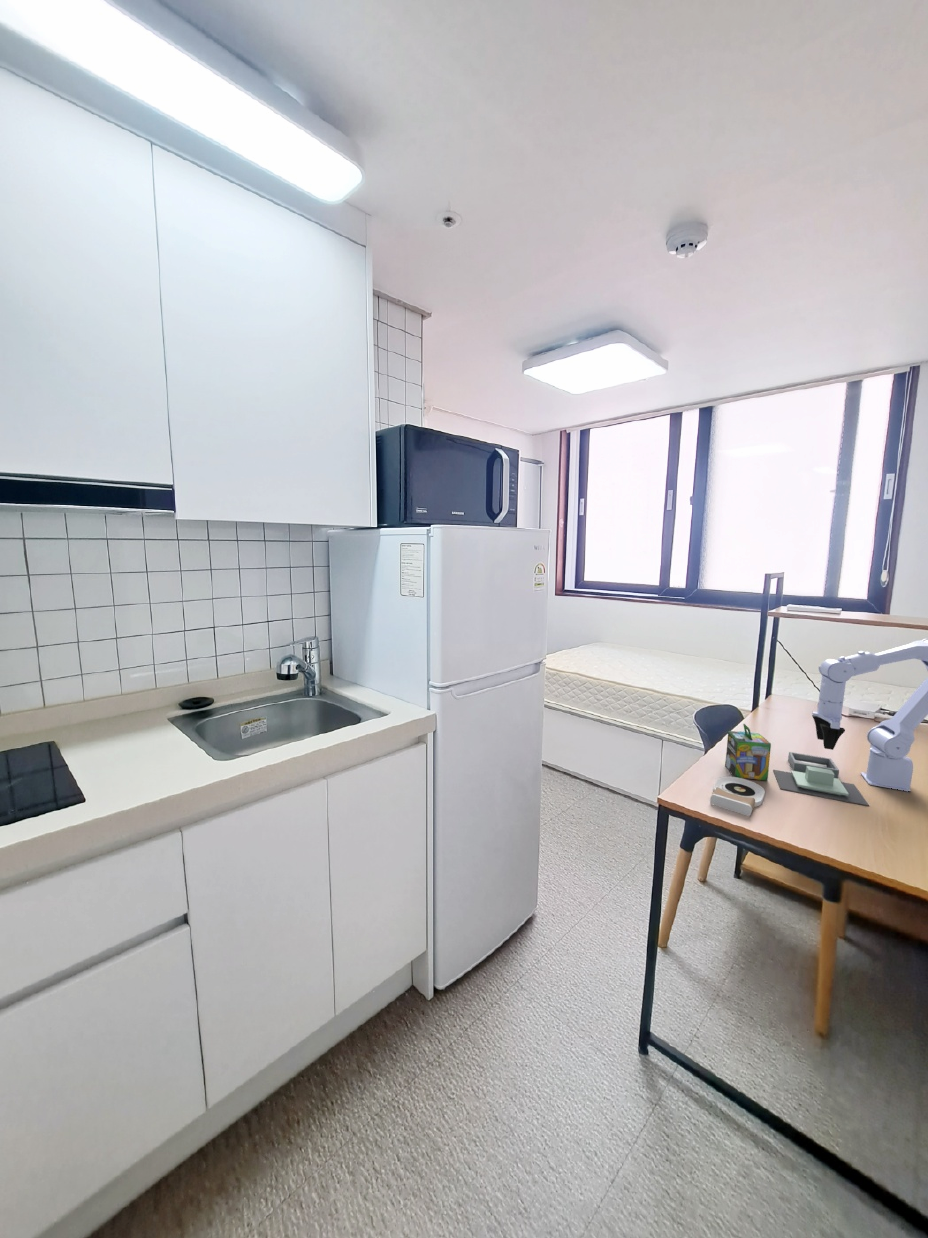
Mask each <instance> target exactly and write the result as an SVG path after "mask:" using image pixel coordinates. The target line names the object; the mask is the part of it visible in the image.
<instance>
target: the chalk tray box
mask: <svg viewBox="0 0 928 1238" xmlns="http://www.w3.org/2000/svg"><path fill="white" fill-rule="evenodd" d="M787 763H788V764H789V767H790V769H791V770H792V771H797V772H803V773H805V772H806V766H811V767H817V768H822V769H828V770H832V771H833V773H834V774H835V775H834V778H836V779H839V775H840V770H839V768H838V767H837V766H836V764H835V762H834V761H833V760H832V759H831V758H830V757H822V756H818V755H816V756H815V755H811V754H804V753H799V752H792V751H788V758H787Z"/></svg>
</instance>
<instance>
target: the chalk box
mask: <svg viewBox="0 0 928 1238" xmlns="http://www.w3.org/2000/svg"><path fill="white" fill-rule="evenodd" d="M742 725H743V729H744V731H735V730H734V731H733V730H728V732H727V733H728V734H727V743H726V753H725V763H724V764H725V767H726V768H727V769H728V771H729V772H730V773H732V774H731V775H732V777H738V778H742V779H746V780H759V781H768V780H769V769H770V757H771V747H772V743H771V742H769V740H767V739H766V738H765V737H764V736H763V735H762V734H760V733H756V732H755V733H754V732H751V729H750V728H749V727H748V726H747V725H746V723H743V724H742Z"/></svg>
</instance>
